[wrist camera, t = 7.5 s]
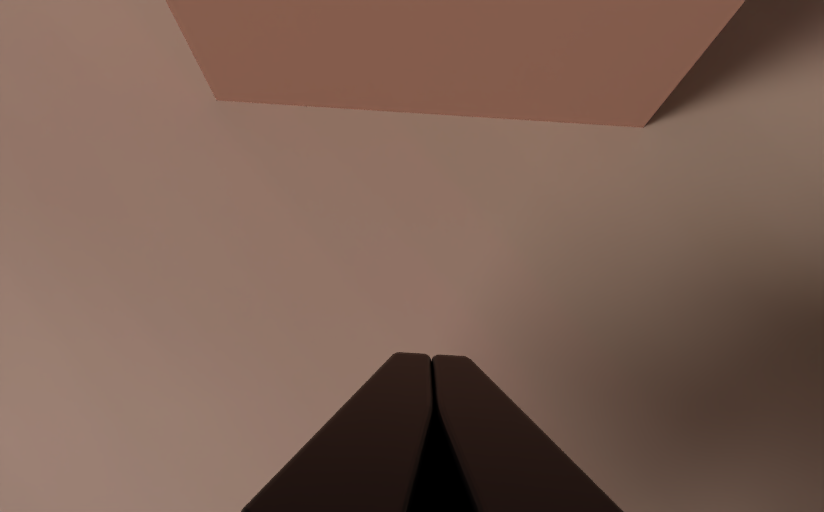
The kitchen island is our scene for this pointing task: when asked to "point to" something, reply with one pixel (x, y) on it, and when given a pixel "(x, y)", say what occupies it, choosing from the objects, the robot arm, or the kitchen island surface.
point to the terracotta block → (454, 54)
